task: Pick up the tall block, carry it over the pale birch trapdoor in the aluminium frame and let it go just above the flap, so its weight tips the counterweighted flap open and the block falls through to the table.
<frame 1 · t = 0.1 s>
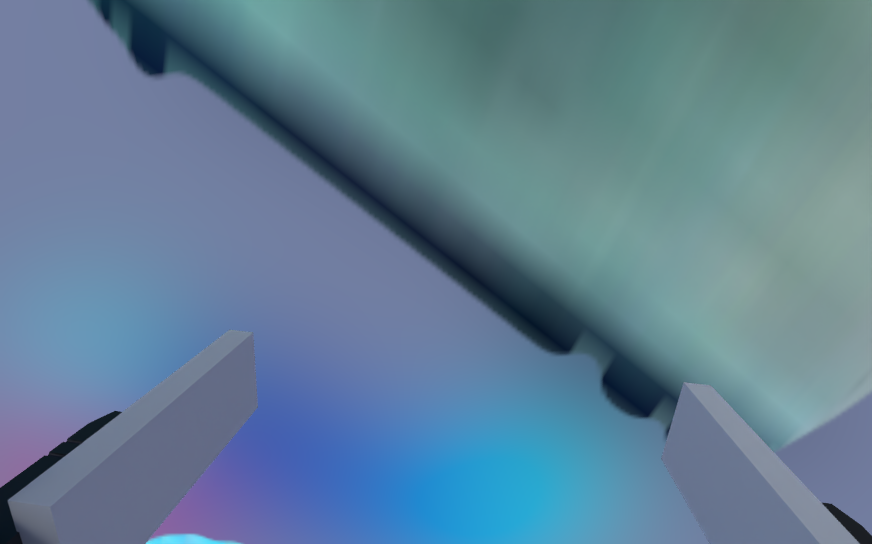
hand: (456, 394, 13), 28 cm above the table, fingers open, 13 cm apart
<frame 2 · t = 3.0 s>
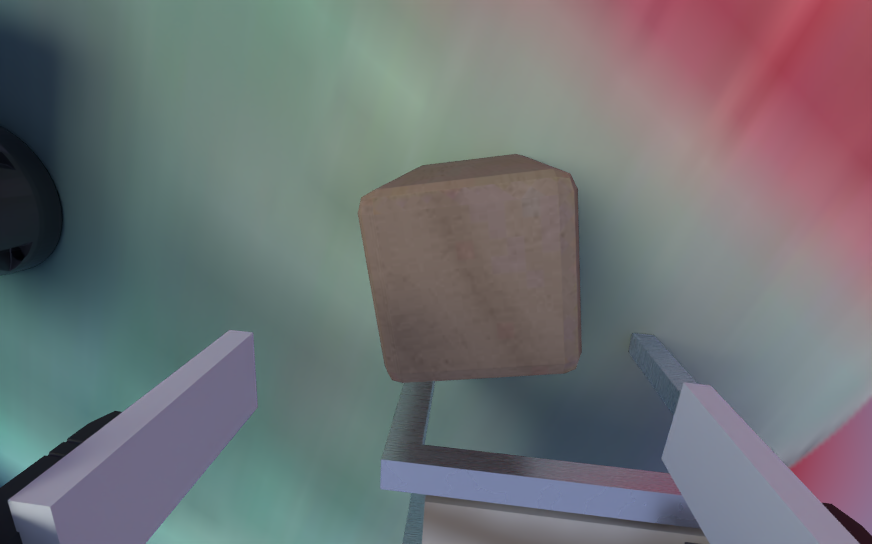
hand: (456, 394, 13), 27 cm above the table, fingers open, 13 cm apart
block: (474, 215, 39), on the table
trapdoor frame: (522, 419, 44), on the table
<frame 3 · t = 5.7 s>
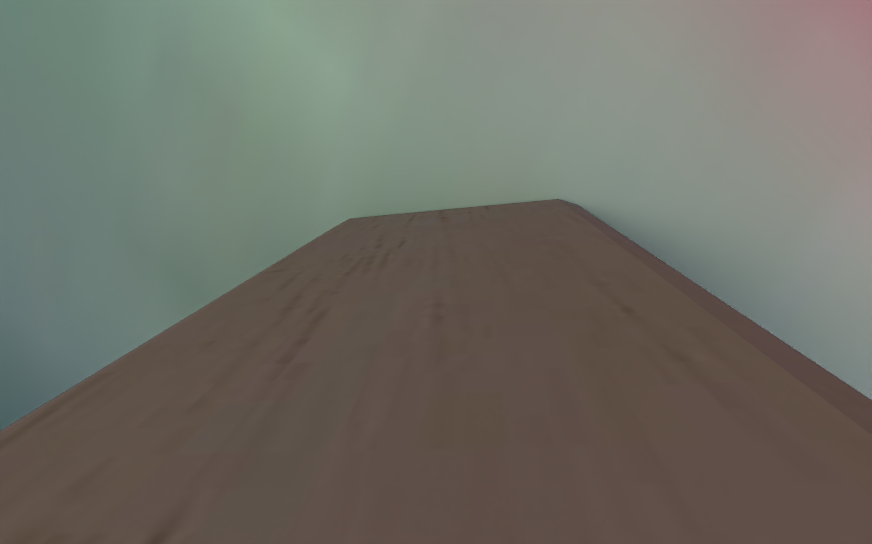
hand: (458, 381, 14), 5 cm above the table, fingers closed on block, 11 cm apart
block: (463, 317, 19), on the table, touching gripper
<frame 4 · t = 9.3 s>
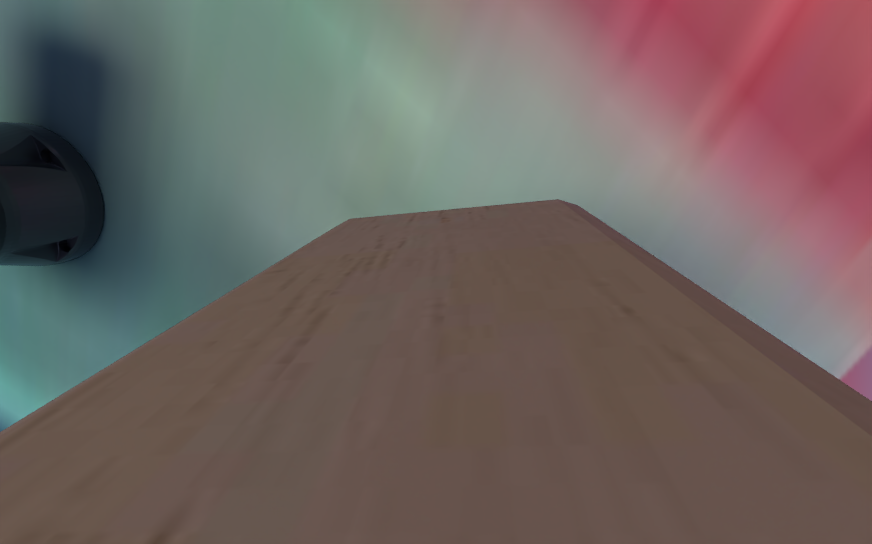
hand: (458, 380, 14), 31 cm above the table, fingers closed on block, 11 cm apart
block: (463, 317, 19), point 25 cm above the table, touching gripper
when the fingers open (28 cm above the table, at t = 12.8 s): block drops 3 cm, resting on trapdoor.
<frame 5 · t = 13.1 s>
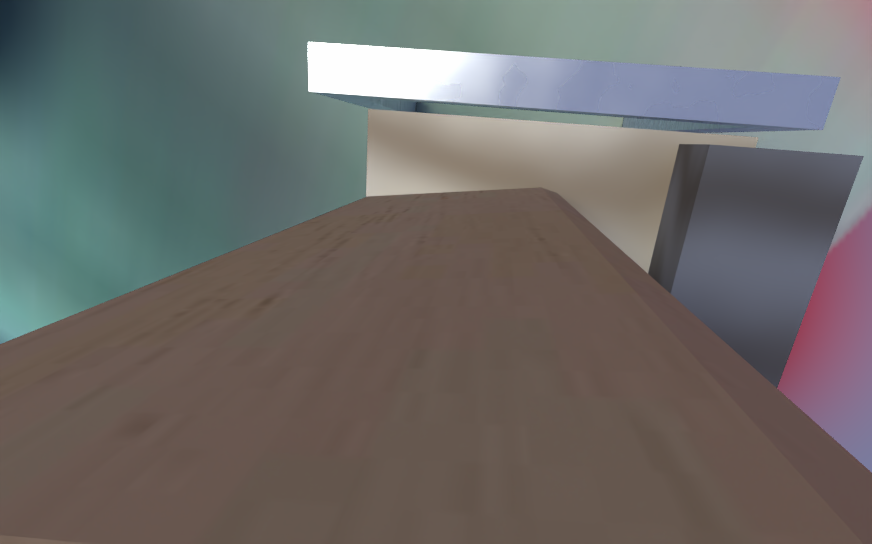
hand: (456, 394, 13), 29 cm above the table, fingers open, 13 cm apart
trapdoor: (546, 309, 20), point 21 cm above the table, hinge at -4.2°, touching block
block: (459, 286, 22), point 19 cm above the table, touching gripper, trapdoor
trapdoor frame: (503, 224, 40), on the table
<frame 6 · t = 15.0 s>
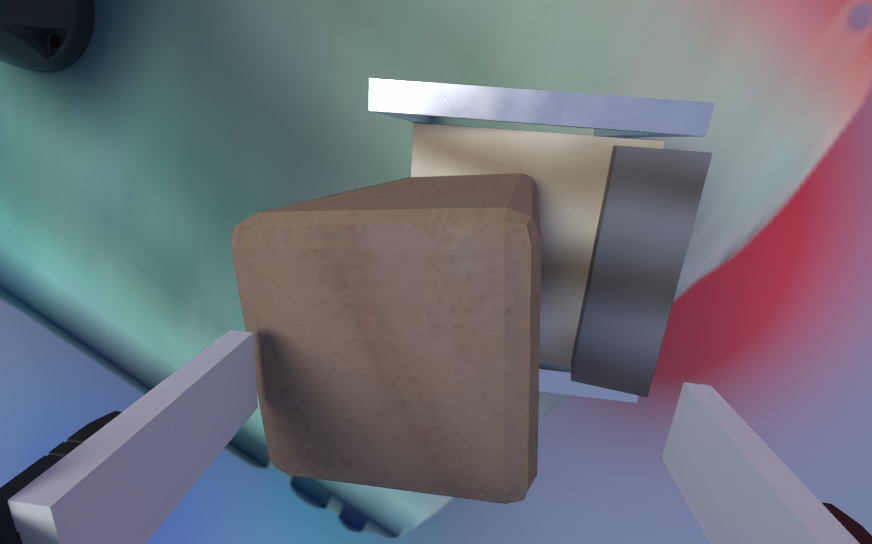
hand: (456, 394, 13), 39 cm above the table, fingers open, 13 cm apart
trapdoor: (525, 255, 31), point 20 cm above the table, hinge at -11.9°, touching block
block: (468, 241, 32), point 18 cm above the table, touching trapdoor
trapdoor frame: (500, 210, 50), on the table
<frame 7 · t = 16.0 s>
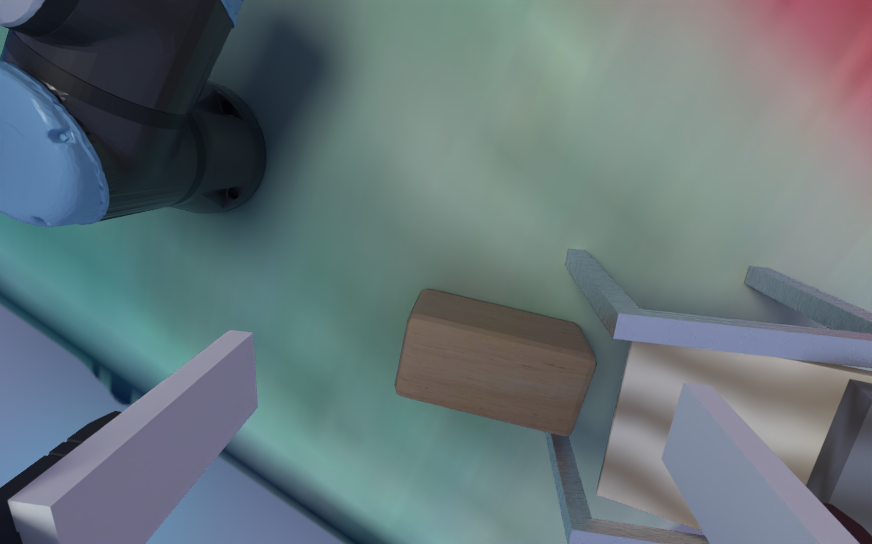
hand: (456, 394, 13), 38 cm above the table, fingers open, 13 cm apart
trapdoor: (745, 460, 33), point 20 cm above the table, hinge at -15.7°
block: (578, 378, 48), point 5 cm above the table
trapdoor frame: (645, 344, 52), on the table
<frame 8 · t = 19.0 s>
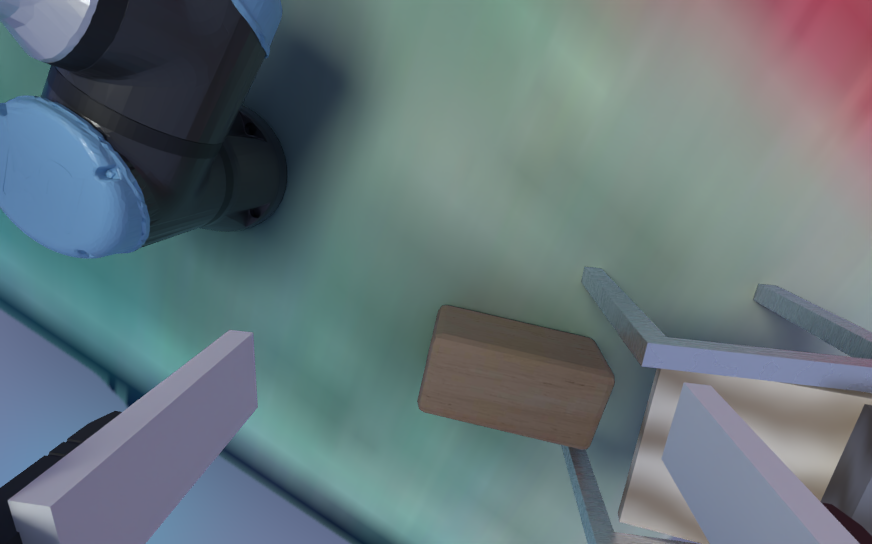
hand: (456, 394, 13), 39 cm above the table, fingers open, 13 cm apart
trapdoor: (768, 483, 34), point 20 cm above the table, hinge at -9.1°
block: (594, 392, 50), point 5 cm above the table
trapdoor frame: (656, 358, 53), on the table
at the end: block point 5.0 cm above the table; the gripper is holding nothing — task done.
